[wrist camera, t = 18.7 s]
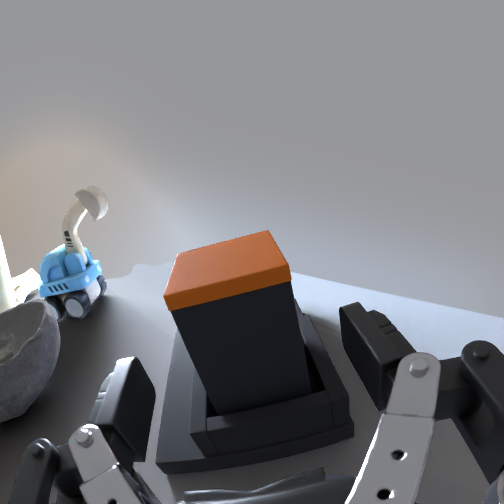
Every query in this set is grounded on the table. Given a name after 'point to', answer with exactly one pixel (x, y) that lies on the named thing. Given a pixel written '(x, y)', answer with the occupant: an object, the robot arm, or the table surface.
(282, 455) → the dark square socket base
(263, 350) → the black and orange block
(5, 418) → the bowl
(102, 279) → the toy excavator
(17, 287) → the stone
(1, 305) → the plant pot
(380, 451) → the robot arm
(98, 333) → the table surface
